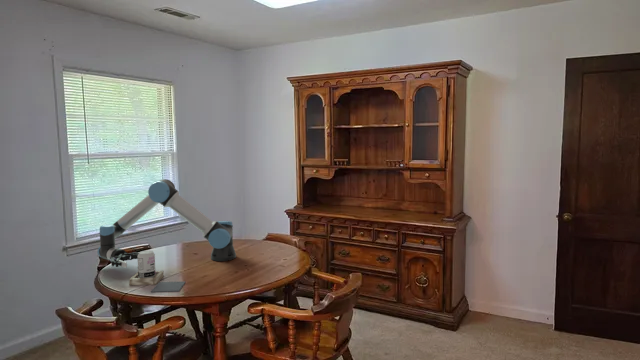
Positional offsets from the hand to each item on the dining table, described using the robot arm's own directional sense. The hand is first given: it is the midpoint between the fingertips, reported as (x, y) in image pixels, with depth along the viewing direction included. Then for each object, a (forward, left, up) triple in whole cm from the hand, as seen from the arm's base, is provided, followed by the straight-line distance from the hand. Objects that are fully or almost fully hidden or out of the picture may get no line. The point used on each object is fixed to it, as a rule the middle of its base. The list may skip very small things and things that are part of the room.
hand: (138, 261), depth 221 cm
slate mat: (-19, +15, -9) cm, 26 cm away
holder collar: (-5, +4, -9) cm, 11 cm away
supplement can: (-5, +4, -9) cm, 11 cm away
